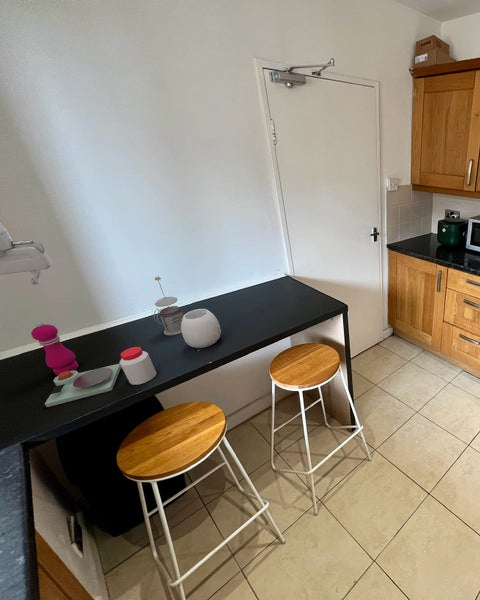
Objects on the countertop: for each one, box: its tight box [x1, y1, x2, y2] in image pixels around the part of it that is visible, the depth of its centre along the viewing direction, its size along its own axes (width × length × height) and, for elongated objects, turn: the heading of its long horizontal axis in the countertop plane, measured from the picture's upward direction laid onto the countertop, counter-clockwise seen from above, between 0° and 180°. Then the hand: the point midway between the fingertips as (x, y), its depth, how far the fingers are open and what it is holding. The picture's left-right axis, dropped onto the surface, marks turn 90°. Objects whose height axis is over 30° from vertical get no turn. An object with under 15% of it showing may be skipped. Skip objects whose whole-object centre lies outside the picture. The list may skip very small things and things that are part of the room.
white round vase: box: [181, 308, 222, 349], centre depth 125 cm, size 13×13×14 cm
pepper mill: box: [30, 321, 80, 376], centre depth 109 cm, size 7×7×20 cm
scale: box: [44, 363, 122, 408], centre depth 105 cm, size 16×14×3 cm
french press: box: [153, 276, 184, 336], centre depth 131 cm, size 10×12×25 cm
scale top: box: [49, 367, 113, 396], centre depth 104 cm, size 15×10×1 cm
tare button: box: [57, 371, 72, 380], centre depth 105 cm, size 3×3×2 cm
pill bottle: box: [119, 346, 157, 386], centre depth 107 cm, size 8×8×11 cm
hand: (16, 286), depth 98 cm, fingers open, 8 cm apart
